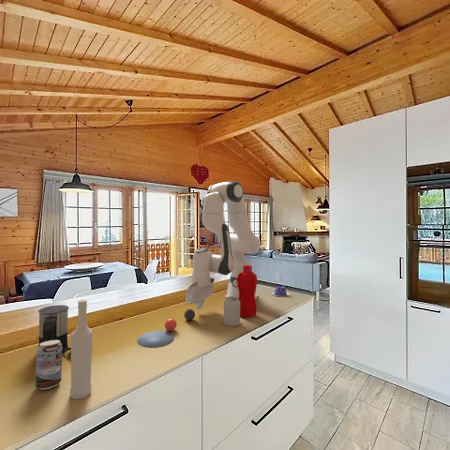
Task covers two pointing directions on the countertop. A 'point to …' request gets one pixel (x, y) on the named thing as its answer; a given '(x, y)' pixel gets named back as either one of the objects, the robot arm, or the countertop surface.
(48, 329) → the milk frother
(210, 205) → the robot arm
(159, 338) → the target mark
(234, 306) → the can
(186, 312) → the dark grey ball
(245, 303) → the water bottle
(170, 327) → the object ball
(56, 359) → the beverage can
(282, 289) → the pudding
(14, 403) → the countertop surface
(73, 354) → the bottle
